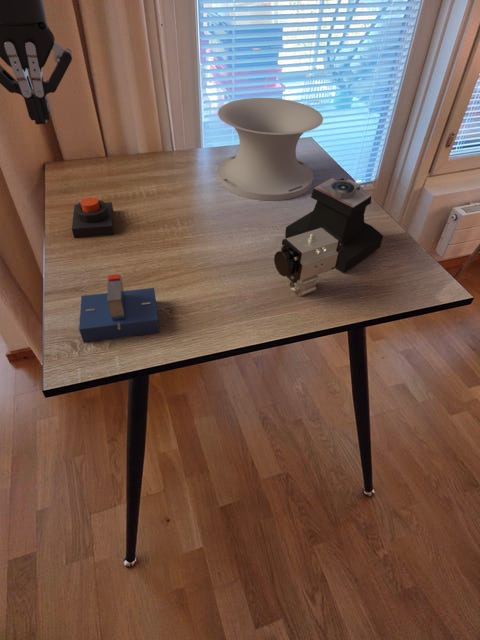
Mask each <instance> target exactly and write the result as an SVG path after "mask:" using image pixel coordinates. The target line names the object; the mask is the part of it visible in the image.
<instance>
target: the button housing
mask: <svg viewBox="0 0 480 640" xmlns="http://www.w3.org/2000/svg"><path fill="white" fill-rule="evenodd" d="M98 201H99V205H100V209H99V210H98V211H95V212H83V210H82V207H81V201H80V202H78V203H77V204H74V205H73V206H74V207H73V215H72V224H71V231H72V235H73V238H74V239H78V238H89V237H90V238H91V237H101V236H113V235H114V234H115V229H114V228H115V227H114V225H115V224H114V221H115V220H114V207H113V202H112V201H108V202H105V201H104V200H100V199H98Z"/></svg>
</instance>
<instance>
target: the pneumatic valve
mask: <svg viewBox="0 0 480 640" xmlns="http://www.w3.org/2000/svg"><path fill="white" fill-rule="evenodd" d="M342 254H343V243H342V241H341V239H340V238H339V237H338V236H337V235H335V234H333V233H332V232H330V231H329V230H328V229H326V228H325V227H322V228H318V229H315V230H312V231H309V232H306V233H302V234H299V235H296V236H293V237H289V238H282V240H281V245H280V250H279V251H276V252H275V254H274V257H273V262H274V266H275V269H276V271H277V273H278V274H279V275H280V276H282V277H286V278H287V279H289V281H288V287H289V289H290V291H291V292H292V293H297V296H299V297H302V296H305V295H308V294H311V293H313V292H315V291H316V290H317V284H319V282H320V277H319V275H322V274H325V273H327V272H330V271H333V270H335V268H334V267H336V266H338V262H339V258H340V257H341V256H342Z"/></svg>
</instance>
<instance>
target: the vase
mask: <svg viewBox="0 0 480 640" xmlns="http://www.w3.org/2000/svg"><path fill="white" fill-rule="evenodd" d="M217 116H218V118H219V119H220V120H221V121H222V122H224V123H225V124H227V125H228V126H231V127H232V128H234V129H235V131H236V134H237V135H238V140H239V147H238V151H237V153H236V154H234V155H231V156H230V157H227V158H224V159H223V160H222V162H220V164H218V167H217V180H218V182H219V184H220V185H221V187H223V188H224V189H225V190H227V191H229V192H230V193H232V194H233V195H237V196H238V197H239V196H240V197H242V198H246V199H250V200H257V201H270V202H271V201H273V202H274V201H276V202H277V201H284V200H290V199H293V198H297V197H300V196H302V195H304V194H305V193H307V192H308V191H309V190H310V189H311V188H312V186H313V183H314V182H313V181H314V172H313V170H312V168H311V167H310V166H309V165H307V163H305V162H303V161H302V160H300V159H298V158H297V146H298V142H299V140H300V138H301V137H302V135H304V133H307V132H310V131H313V130H315V129H317V128H319V127H320V126H321V125H322V124H323V122H324V116H323V115H322V114H321V112H319V111H318V110H317V109H315V108H314V107H312V106H310V105H307V104H304V103H301V102H298V101H294V100H290V99H283V98H276V97H275V98H273V97H248V98H241V99H237V100H233V101H230V102H229V101H228V102H227V103H225V104H223V105H222V106H220V107H219V108H218V110H217Z"/></svg>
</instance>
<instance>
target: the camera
mask: <svg viewBox="0 0 480 640" xmlns="http://www.w3.org/2000/svg"><path fill="white" fill-rule="evenodd" d="M360 188H361V184H359V183H357V182H355V181H353V180H350V179H348V178H347V179H344V178H342V177H341V178H340V179H338V180H337V179H335V178H334V177H331V178H328V179H327V180H326V181H324V182H322V183H320V184H318V185H317V186H314V187H313V189H312V191H311V195H310V198H311V199H313V200H315V201H316V203H315V205H314V208H313V210H312V211H310V212H308V213H307V214H305V215H303V216H302V217H300V218H299V219H297V220H295V221H293V222H292V223H290V224H289V225H287V226H286V227H285V233H284V235H285V237H284V239H286V238H289V237H293V236H296V235H299V234H302V233H306V232H309V231H312V230H315V229H318V228H322V227H325V228H326V229H328V230H329V231H330V232H332V233H333V234H335V235H337V236H338V237H339V238H340V239H341V241H342V243H343V254H342V256H341V257H340V258H339V262H338V266H336V267H334V269H336V270H338V271H339V272H341V273H343V274H346V273H347V272H348V271H350V270H351V269H353V268H354V267H356V266H357V265H359V263H360V262H362V261H363V260H365V259H366V258H367V257H370V255H372V254H373V253H374V252H376V251H377V250H378V249H380V248H381V246H382V243H383V239H384V235H383V234H382V233H381V232H380V231H378V230H377V229H376V228H374V226H372V225H370V224H369V223H367V222H365V212H366V209H367V207H368V206H369V205H372V195H370V194H368V193H366V192H364V191H362V190H360Z"/></svg>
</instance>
